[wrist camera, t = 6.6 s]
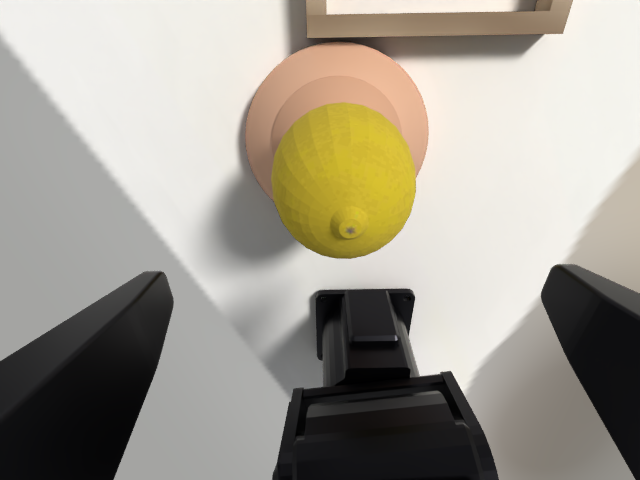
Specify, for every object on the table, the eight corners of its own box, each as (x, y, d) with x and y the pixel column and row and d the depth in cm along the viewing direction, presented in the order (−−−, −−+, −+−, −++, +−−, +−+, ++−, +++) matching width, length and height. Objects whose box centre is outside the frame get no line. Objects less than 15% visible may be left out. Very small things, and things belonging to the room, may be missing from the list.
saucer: (412, 216, 21) (416, 225, 20) (257, 219, 21) (255, 227, 20) (437, 39, 16) (444, 40, 15) (236, 42, 16) (231, 44, 15)
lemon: (263, 171, 18) (232, 264, 11) (310, 63, 15) (307, 99, 9) (357, 213, 19) (380, 319, 13) (415, 121, 17) (484, 191, 10)
